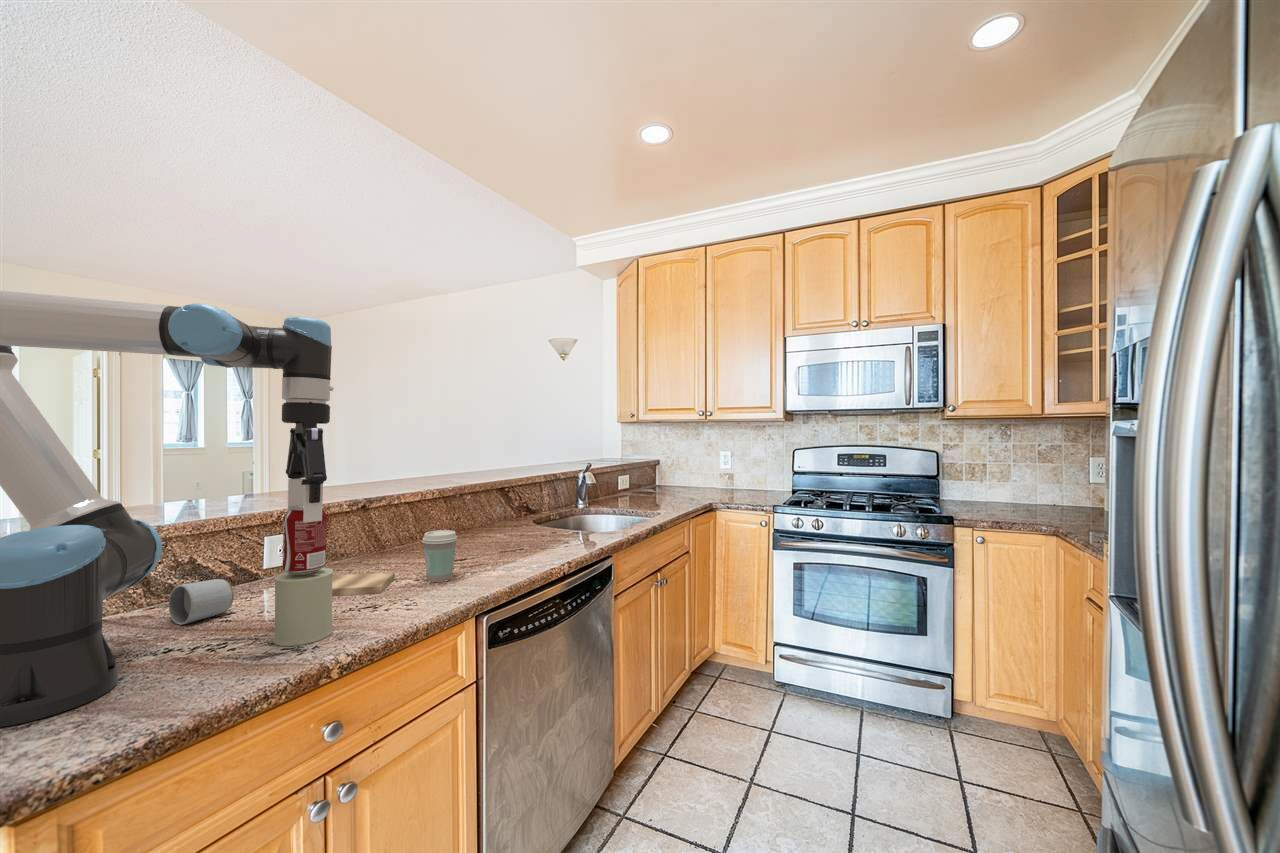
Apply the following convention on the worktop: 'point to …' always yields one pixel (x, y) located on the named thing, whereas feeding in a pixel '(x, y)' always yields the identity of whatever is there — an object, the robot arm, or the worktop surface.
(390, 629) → the worktop surface
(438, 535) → the coffee cup
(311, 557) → the soda can
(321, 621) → the can
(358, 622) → the worktop surface
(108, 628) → the worktop surface
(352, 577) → the cutting board
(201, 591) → the grey hollow cylinder
